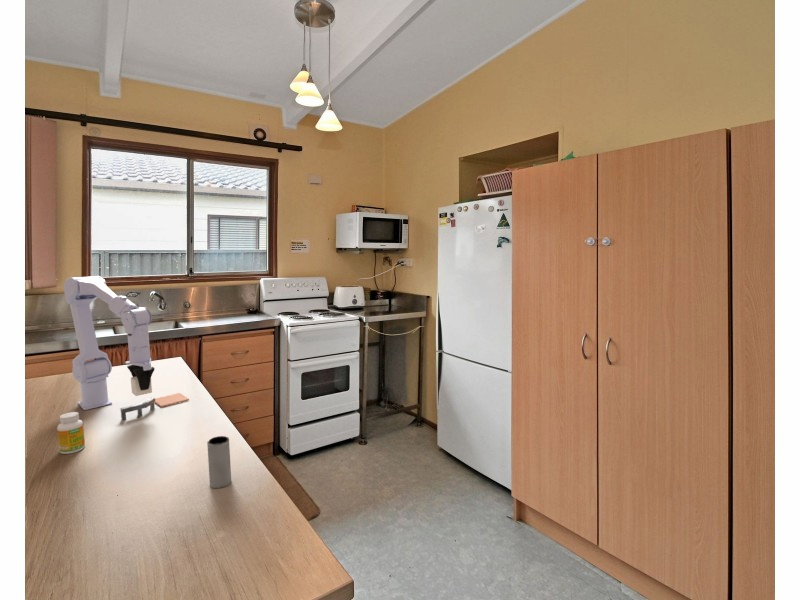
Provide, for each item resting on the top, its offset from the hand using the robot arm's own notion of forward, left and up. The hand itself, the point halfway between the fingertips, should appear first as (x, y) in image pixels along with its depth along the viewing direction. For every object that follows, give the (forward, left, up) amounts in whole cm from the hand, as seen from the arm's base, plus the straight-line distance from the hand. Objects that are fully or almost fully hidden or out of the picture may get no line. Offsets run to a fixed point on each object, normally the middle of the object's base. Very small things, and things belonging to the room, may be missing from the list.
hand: (142, 387), depth 136 cm
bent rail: (-2, -1, -9) cm, 9 cm away
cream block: (0, 0, -2) cm, 2 cm away
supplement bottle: (+13, -21, -9) cm, 26 cm away
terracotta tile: (-7, +10, -9) cm, 15 cm away
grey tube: (+58, -1, -9) cm, 59 cm away
